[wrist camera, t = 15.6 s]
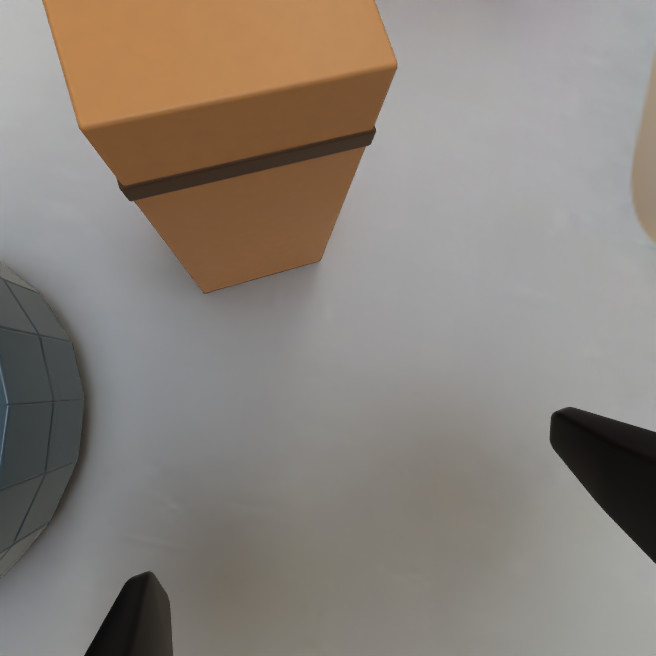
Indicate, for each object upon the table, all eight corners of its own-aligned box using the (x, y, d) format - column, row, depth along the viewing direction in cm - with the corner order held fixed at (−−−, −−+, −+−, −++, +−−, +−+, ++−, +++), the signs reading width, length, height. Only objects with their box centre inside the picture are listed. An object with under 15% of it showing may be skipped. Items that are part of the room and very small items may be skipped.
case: (322, 261, 18) (404, 67, 7) (202, 295, 17) (74, 133, 6) (295, 179, 19) (331, -132, 7) (176, 208, 18) (9, -98, 6)
